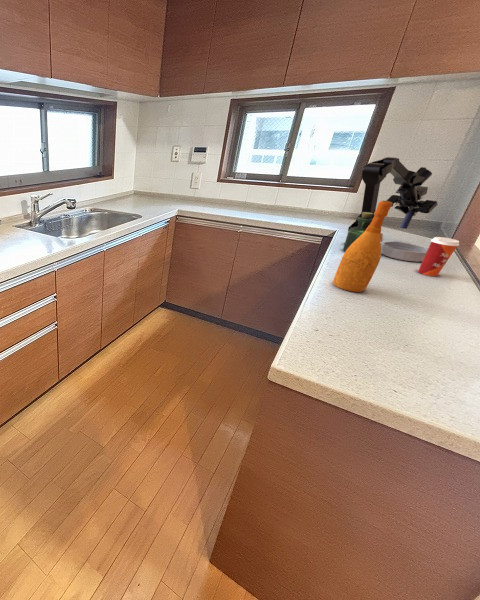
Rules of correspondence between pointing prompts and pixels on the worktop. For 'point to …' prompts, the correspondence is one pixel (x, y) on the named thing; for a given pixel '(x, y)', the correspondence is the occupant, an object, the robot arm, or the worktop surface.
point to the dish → (403, 251)
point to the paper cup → (437, 255)
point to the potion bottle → (357, 229)
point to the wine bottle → (362, 254)
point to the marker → (407, 218)
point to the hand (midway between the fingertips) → (411, 214)
